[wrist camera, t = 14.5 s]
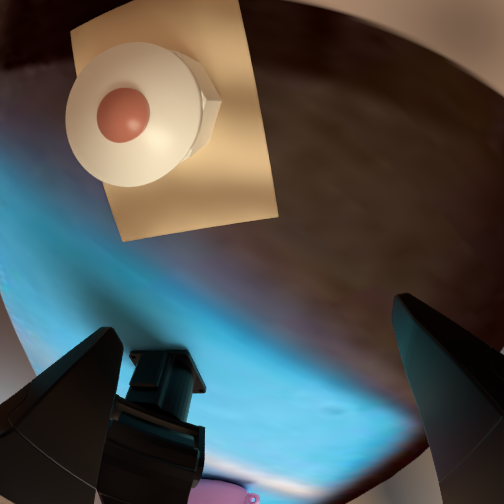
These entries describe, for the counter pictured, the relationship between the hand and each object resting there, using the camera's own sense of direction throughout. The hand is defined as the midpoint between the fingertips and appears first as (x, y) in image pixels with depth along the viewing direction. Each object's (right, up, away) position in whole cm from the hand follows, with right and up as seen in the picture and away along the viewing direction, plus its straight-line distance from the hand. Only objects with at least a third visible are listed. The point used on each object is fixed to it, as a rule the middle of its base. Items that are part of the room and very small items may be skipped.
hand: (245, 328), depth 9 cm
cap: (-5, +11, +7) cm, 14 cm away
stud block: (-5, +11, +8) cm, 14 cm away
